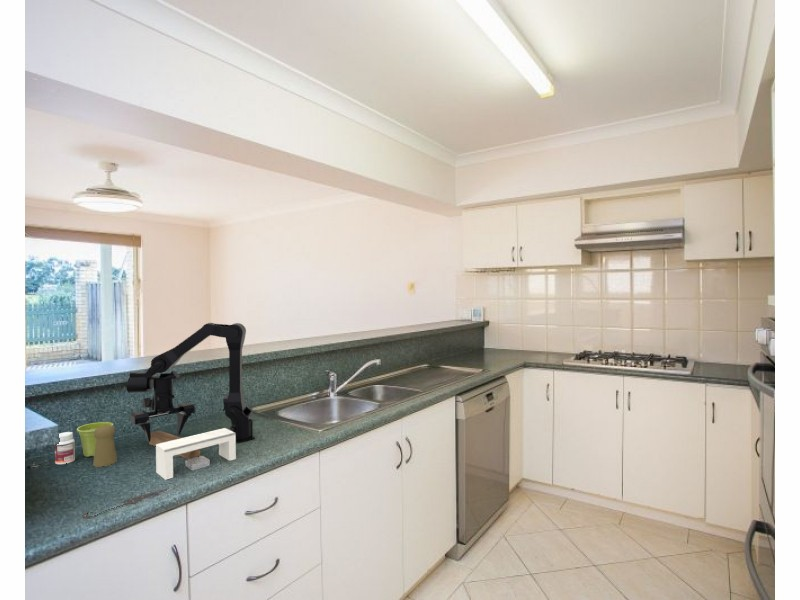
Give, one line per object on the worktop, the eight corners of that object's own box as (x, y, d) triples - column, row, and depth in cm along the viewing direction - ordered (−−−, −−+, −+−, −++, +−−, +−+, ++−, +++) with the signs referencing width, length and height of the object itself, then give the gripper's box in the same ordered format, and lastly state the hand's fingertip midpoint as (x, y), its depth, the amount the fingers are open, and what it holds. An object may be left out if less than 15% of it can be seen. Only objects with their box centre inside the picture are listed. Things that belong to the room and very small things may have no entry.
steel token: (202, 462, 133) (202, 455, 133) (209, 466, 130) (209, 459, 130) (185, 467, 130) (185, 460, 130) (192, 471, 126) (192, 464, 126)
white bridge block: (225, 453, 139) (224, 427, 139) (235, 458, 135) (235, 432, 134) (156, 472, 125) (155, 444, 125) (165, 479, 120) (164, 450, 120)
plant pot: (104, 446, 146) (103, 420, 146) (119, 451, 141) (119, 424, 141) (71, 455, 138) (71, 427, 138) (86, 461, 133) (86, 433, 133)
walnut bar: (159, 442, 151) (159, 430, 151) (200, 457, 137) (200, 444, 137) (148, 445, 148) (148, 433, 148) (189, 460, 134) (189, 447, 134)
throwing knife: (80, 515, 102) (80, 512, 102) (171, 486, 117) (171, 483, 117) (85, 522, 99) (85, 519, 99) (178, 491, 114) (178, 489, 114)
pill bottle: (58, 459, 134) (57, 432, 134) (77, 457, 136) (76, 430, 136) (52, 465, 130) (51, 437, 130) (71, 463, 131) (71, 435, 131)
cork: (113, 457, 136) (112, 422, 136) (120, 462, 132) (119, 425, 132) (90, 463, 131) (89, 426, 131) (97, 468, 128) (96, 431, 127)
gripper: (183, 383, 160) (183, 426, 161) (124, 392, 147) (125, 439, 147) (195, 388, 153) (196, 433, 153) (135, 398, 139) (136, 447, 139)
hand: (164, 438), depth 148 cm, fingers open, 9 cm apart
